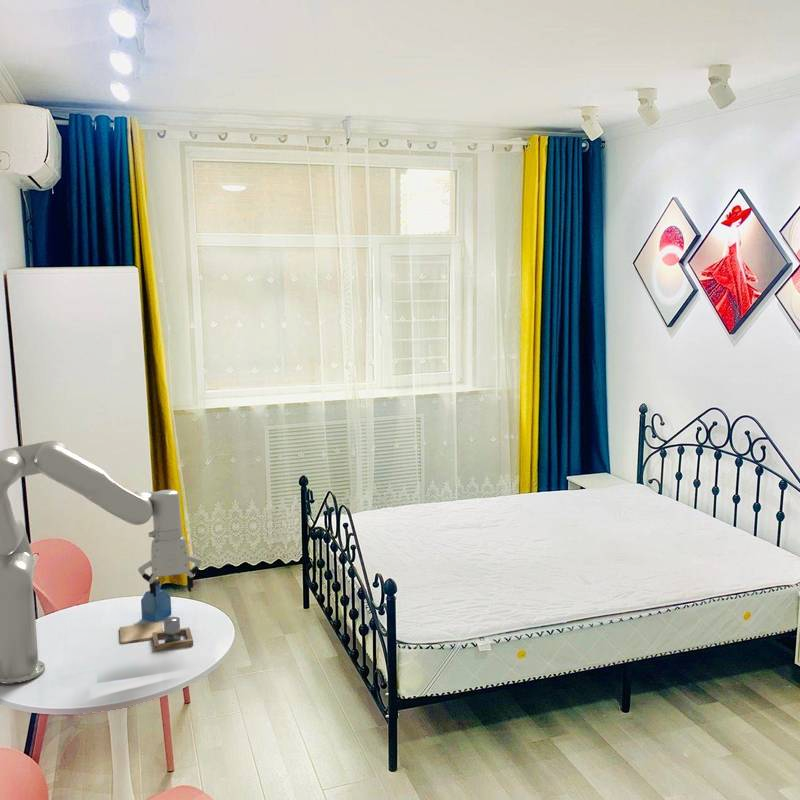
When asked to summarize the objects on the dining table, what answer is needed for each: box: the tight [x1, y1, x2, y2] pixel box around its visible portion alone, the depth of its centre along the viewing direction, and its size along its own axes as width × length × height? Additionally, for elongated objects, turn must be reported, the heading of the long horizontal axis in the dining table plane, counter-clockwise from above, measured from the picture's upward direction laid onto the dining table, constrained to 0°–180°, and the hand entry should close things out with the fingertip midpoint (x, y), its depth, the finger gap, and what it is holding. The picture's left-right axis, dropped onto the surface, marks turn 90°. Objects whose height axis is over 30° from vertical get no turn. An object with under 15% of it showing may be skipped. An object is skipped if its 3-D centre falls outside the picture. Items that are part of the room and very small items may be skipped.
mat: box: [119, 620, 165, 645], centre depth 237 cm, size 12×12×1 cm
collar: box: [152, 627, 194, 652], centre depth 231 cm, size 10×10×2 cm
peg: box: [163, 616, 182, 643], centre depth 230 cm, size 4×4×6 cm
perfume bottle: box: [140, 578, 172, 623], centre depth 249 cm, size 6×6×12 cm
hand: (172, 592), depth 230 cm, fingers open, 9 cm apart
